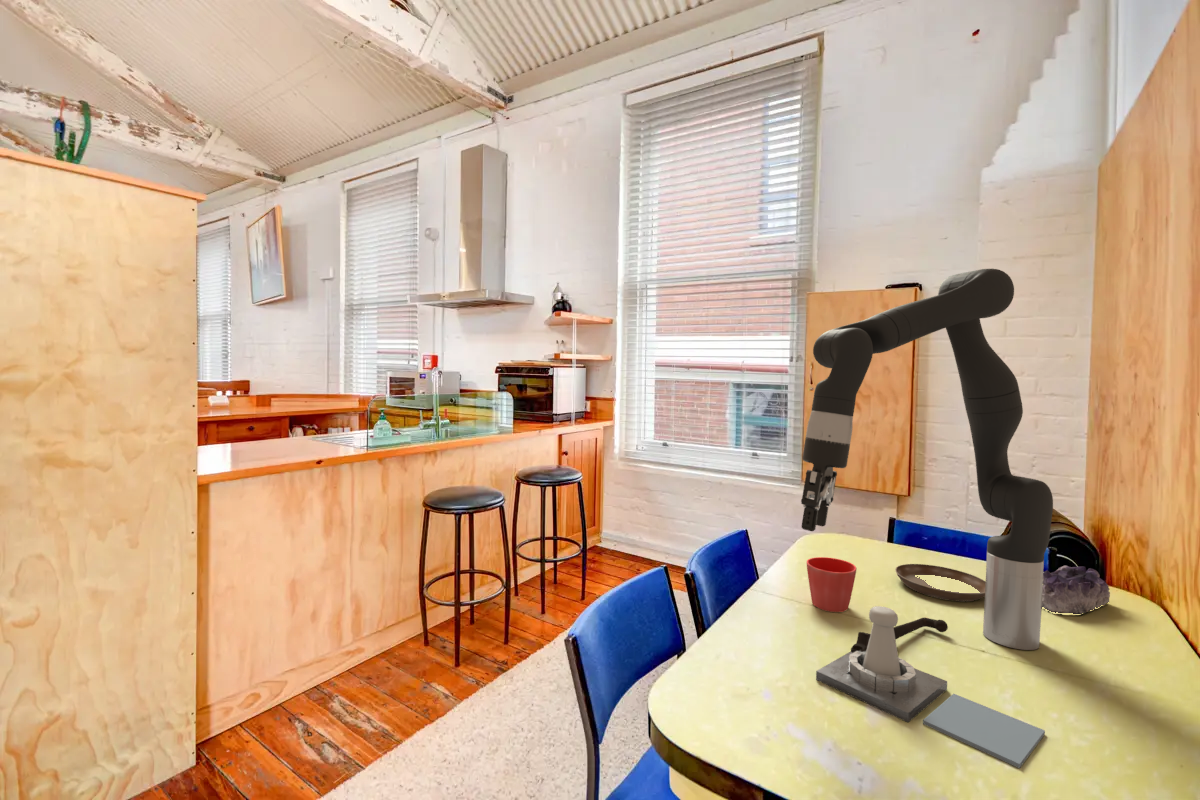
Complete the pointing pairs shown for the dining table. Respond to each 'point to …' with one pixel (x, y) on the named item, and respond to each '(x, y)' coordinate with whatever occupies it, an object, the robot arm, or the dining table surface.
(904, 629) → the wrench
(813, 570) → the flower pot
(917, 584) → the plant saucer
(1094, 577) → the geode
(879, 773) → the dining table surface
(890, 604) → the dining table surface
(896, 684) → the eye plate
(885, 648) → the salt shaker
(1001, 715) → the rubber mat
